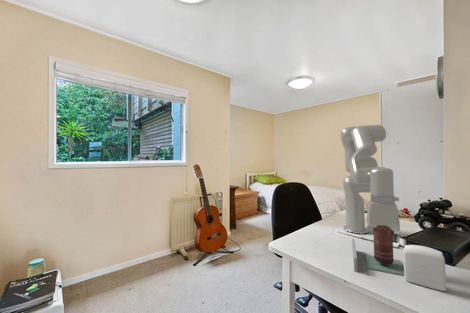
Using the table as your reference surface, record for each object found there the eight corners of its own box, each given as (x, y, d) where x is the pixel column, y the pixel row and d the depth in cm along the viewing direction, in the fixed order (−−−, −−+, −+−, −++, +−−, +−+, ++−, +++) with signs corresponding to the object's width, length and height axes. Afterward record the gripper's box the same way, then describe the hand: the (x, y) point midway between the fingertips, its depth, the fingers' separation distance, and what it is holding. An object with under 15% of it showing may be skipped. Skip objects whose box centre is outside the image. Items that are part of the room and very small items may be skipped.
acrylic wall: (352, 250, 94) (352, 239, 94) (354, 250, 94) (354, 239, 94) (354, 271, 77) (354, 257, 77) (357, 271, 76) (357, 258, 76)
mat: (364, 255, 89) (364, 254, 89) (399, 261, 83) (399, 260, 83) (367, 268, 78) (367, 267, 78) (408, 276, 72) (408, 275, 73)
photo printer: (403, 281, 70) (402, 244, 70) (404, 276, 73) (403, 240, 73) (447, 294, 63) (445, 253, 63) (445, 287, 66) (444, 248, 67)
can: (386, 266, 76) (384, 228, 77) (370, 258, 83) (369, 223, 83) (398, 263, 78) (397, 226, 78) (382, 256, 84) (381, 221, 84)
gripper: (403, 199, 81) (405, 246, 81) (359, 196, 88) (360, 240, 87) (409, 202, 74) (410, 254, 74) (360, 199, 81) (362, 246, 81)
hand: (383, 246), depth 81 cm, fingers closed
